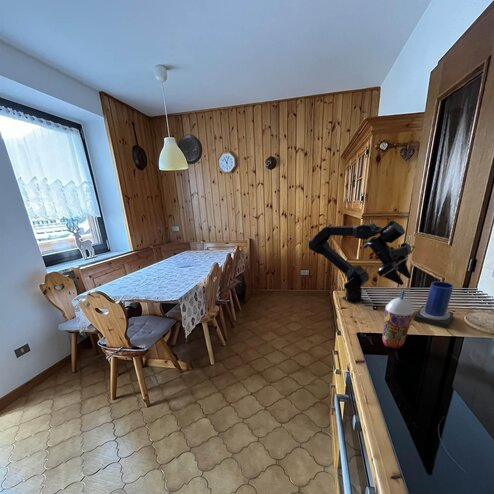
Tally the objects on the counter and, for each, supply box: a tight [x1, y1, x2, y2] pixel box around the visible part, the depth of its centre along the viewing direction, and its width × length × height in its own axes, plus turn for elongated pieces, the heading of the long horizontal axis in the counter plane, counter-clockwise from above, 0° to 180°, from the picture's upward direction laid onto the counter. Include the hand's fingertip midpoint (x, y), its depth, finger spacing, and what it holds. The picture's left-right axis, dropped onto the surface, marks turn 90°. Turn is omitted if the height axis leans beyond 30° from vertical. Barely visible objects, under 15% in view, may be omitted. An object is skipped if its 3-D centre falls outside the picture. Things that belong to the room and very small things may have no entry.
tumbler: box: [424, 280, 455, 316], centre depth 108 cm, size 7×7×12 cm
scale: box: [413, 305, 455, 329], centre depth 111 cm, size 11×11×3 cm
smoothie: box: [381, 289, 415, 349], centre depth 93 cm, size 8×8×20 cm
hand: (406, 281), depth 112 cm, fingers open, 9 cm apart
